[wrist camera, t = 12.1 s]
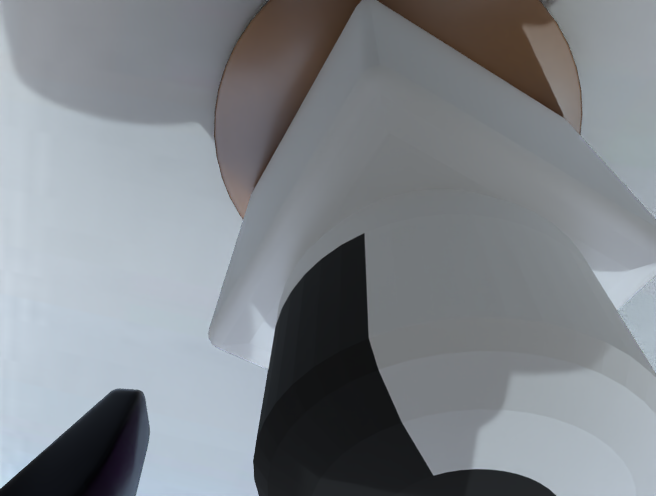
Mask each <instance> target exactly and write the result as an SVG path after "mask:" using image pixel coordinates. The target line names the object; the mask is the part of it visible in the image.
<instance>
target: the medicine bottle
mask: <svg viewBox="0 0 656 496" xmlns="http://www.w3.org/2000/svg"><path fill="white" fill-rule="evenodd" d="M655 276H656V219H655V218H654V217H653V216H652V215H651V214H650V213H649V212H648V210H647V209H646V208H645V207H644V206H643V205H642V204H641V203H640V201H639V200H638V199H637V198H636V197H635V196H634V195H633V194H632V193H631V191H630V190H629V189H628V188H627V187H626V186H625V185H624V184H623V182H622V181H621V180H620V179H619V178H618V177H617V176H616V175H615V174H614V172H613V171H612V170H611V169H610V168H609V167H608V166H607V165H606V163H605V162H604V161H603V160H602V159H601V158H600V157H599V156H598V155H597V153H596V152H595V151H594V150H593V149H592V148H591V147H590V146H589V144H588V143H587V142H586V141H585V140H584V139H583V138H582V137H581V136H580V134H579V133H578V132H577V131H576V130H575V129H574V128H573V127H572V125H571V124H570V123H569V122H568V121H567V120H566V119H565V118H563V117H561V116H560V115H558V114H557V113H555V112H553V111H552V110H550V109H549V108H547V107H545V106H544V105H542V104H541V103H539V102H538V101H536V100H534V99H533V98H531V97H530V96H528V95H526V94H525V93H523V92H522V91H520V90H518V89H517V88H515V87H514V86H512V85H510V84H509V83H507V82H506V81H504V80H503V79H501V78H499V77H498V76H496V75H495V74H493V73H491V72H490V71H488V70H487V69H485V68H483V67H482V66H480V65H479V64H477V63H476V62H474V61H472V60H471V59H469V58H468V57H466V56H464V55H463V54H461V53H460V52H458V51H456V50H455V49H453V48H452V47H450V46H449V45H447V44H445V43H444V42H442V41H441V40H439V39H437V38H436V37H434V36H433V35H431V34H429V33H428V32H426V31H425V30H423V29H421V28H420V27H418V26H417V25H415V24H414V23H412V22H410V21H409V20H407V19H406V18H404V17H402V16H401V15H399V14H398V13H396V12H394V11H393V10H391V9H390V8H388V7H387V6H385V5H383V4H382V3H380V2H379V1H377V0H362V1H361V2H360V3H359V4H358V5H357V6H356V8H355V10H354V11H353V13H352V15H351V17H350V19H349V20H348V22H347V24H346V26H345V27H344V29H343V31H342V33H341V35H340V36H339V38H338V40H337V42H336V44H335V45H334V47H333V49H332V51H331V53H330V54H329V56H328V58H327V60H326V61H325V63H324V65H323V67H322V69H321V70H320V72H319V74H318V76H317V78H316V79H315V81H314V83H313V85H312V86H311V88H310V90H309V92H308V94H307V95H306V97H305V99H304V101H303V103H302V104H301V106H300V108H299V110H298V112H297V113H296V115H295V117H294V119H293V120H292V122H291V124H290V126H289V128H288V129H287V131H286V133H285V135H284V137H283V138H282V140H281V142H280V144H279V145H278V147H277V149H276V151H275V153H274V154H273V156H272V158H271V160H270V162H269V163H268V165H267V167H266V169H265V171H264V172H263V174H262V176H261V178H260V179H259V181H258V183H257V185H256V187H255V188H254V190H253V192H252V194H251V197H250V200H249V203H248V206H247V209H246V213H245V216H244V219H243V222H242V225H241V229H240V232H239V235H238V238H237V241H236V245H235V248H234V251H233V254H232V257H231V260H230V264H229V267H228V270H227V273H226V276H225V280H224V283H223V286H222V289H221V292H220V296H219V299H218V302H217V305H216V308H215V312H214V315H213V318H212V321H211V324H210V328H209V339H210V341H211V343H212V345H214V346H215V347H217V348H218V349H221V350H223V351H225V352H228V353H230V354H232V355H235V356H237V357H239V358H242V359H244V360H246V361H249V362H251V363H253V364H256V365H258V366H260V367H263V368H265V369H267V370H268V374H267V380H266V386H265V392H264V398H263V404H262V410H261V416H260V422H259V428H258V434H257V440H256V447H255V453H254V460H253V464H254V480H255V483H256V487H257V490H258V494H259V496H656V373H655V371H654V370H653V368H652V366H651V365H650V363H649V362H648V360H647V358H646V357H645V355H644V354H643V352H642V350H641V349H640V347H639V345H638V344H637V342H636V341H635V339H634V337H633V336H632V334H631V332H630V331H629V329H628V328H627V326H626V324H625V323H624V321H623V319H622V318H621V316H620V315H619V313H618V310H619V309H620V308H621V307H622V306H623V305H624V304H625V303H626V302H628V301H629V300H630V299H631V298H632V297H633V296H634V295H635V294H636V293H637V292H638V291H639V290H641V289H642V288H643V287H644V286H645V285H646V284H647V283H648V282H649V281H650V280H651V279H652V278H654V277H655Z"/></svg>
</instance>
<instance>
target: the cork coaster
mask: <svg viewBox="0 0 656 496" xmlns="http://www.w3.org/2000/svg"><path fill="white" fill-rule="evenodd" d="M361 1H362V0H269V1H268V2H267V3H266V4H265V5H264V6H263V7H262V9H261V10H260V11H259V12H258V13H257V14H256V15H255V17H254V18H253V19H252V20H251V22H250V23H249V25H248V26H247V28H246V29H245V31H244V32H243V34H242V35H241V37H240V38H239V40H238V41H237V43H236V45H235V47H234V49H233V51H232V53H231V56H230V58H229V60H228V62H227V64H226V66H225V70H224V73H223V76H222V79H221V82H220V86H219V89H218V95H217V101H216V107H215V122H214V137H215V146H216V155H217V160H218V164H219V168H220V172H221V175H222V179H223V181H224V184H225V186H226V189H227V191H228V194H229V196H230V198H231V200H232V202H233V204H234V205H235V207H236V209H237V211H238V212H239V214H240V216H241V217H242V219H244V216H245V213H246V209H247V206H248V203H249V200H250V197H251V194H252V192H253V190H254V188H255V187H256V185H257V183H258V181H259V179H260V178H261V176H262V174H263V172H264V171H265V169H266V167H267V165H268V163H269V162H270V160H271V158H272V156H273V154H274V153H275V151H276V149H277V147H278V145H279V144H280V142H281V140H282V138H283V137H284V135H285V133H286V131H287V129H288V128H289V126H290V124H291V122H292V120H293V119H294V117H295V115H296V113H297V112H298V110H299V108H300V106H301V104H302V103H303V101H304V99H305V97H306V95H307V94H308V92H309V90H310V88H311V86H312V85H313V83H314V81H315V79H316V78H317V76H318V74H319V72H320V70H321V69H322V67H323V65H324V63H325V61H326V60H327V58H328V56H329V54H330V53H331V51H332V49H333V47H334V45H335V44H336V42H337V40H338V38H339V36H340V35H341V33H342V31H343V29H344V27H345V26H346V24H347V22H348V20H349V19H350V17H351V15H352V13H353V11H354V10H355V8H356V6H357V5H358V4H359V3H360V2H361ZM377 1H379V2H380V3H382V4H383V5H385V6H387V7H388V8H390V9H391V10H393V11H394V12H396V13H398V14H399V15H401V16H402V17H404V18H406V19H407V20H409V21H410V22H412V23H414V24H415V25H417V26H418V27H420V28H421V29H423V30H425V31H426V32H428V33H429V34H431V35H433V36H434V37H436V38H437V39H439V40H441V41H442V42H444V43H445V44H447V45H449V46H450V47H452V48H453V49H455V50H456V51H458V52H460V53H461V54H463V55H464V56H466V57H468V58H469V59H471V60H472V61H474V62H476V63H477V64H479V65H480V66H482V67H483V68H485V69H487V70H488V71H490V72H491V73H493V74H495V75H496V76H498V77H499V78H501V79H503V80H504V81H506V82H507V83H509V84H510V85H512V86H514V87H515V88H517V89H518V90H520V91H522V92H523V93H525V94H526V95H528V96H530V97H531V98H533V99H534V100H536V101H538V102H539V103H541V104H542V105H544V106H545V107H547V108H549V109H550V110H552V111H553V112H555V113H557V114H558V115H560V116H561V117H563V118H565V119H566V120H567V121H568V122H569V123H570V124H571V125H572V127H573V128H574V129H575V130H576V131H577V132H578V133H579V134H580V132H581V122H582V98H581V87H580V82H579V77H578V72H577V67H576V64H575V61H574V58H573V56H572V53H571V50H570V47H569V45H568V43H567V41H566V39H565V37H564V35H563V33H562V31H561V30H560V28H559V26H558V24H557V22H556V21H555V20H554V18H553V17H552V16H551V14H550V13H549V12H548V11H547V9H546V8H545V7H544V5H543V4H542V3H541V2H540V1H539V0H377Z"/></svg>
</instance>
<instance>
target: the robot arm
mask: <svg viewBox="0 0 656 496" xmlns="http://www.w3.org/2000/svg"><path fill="white" fill-rule="evenodd" d="M149 435H150V427H149V420H148V414H147V407H146V401H145V396H144V394H143V392H142V391H140V390H133V389H115V390H113V391H111V392H110V393H109V394H108V395H106V396H105V397H104V398H103V399H102V400H101V401H100V402H98V403H97V404H96V405H95V406H94V407H93V408H92V409H91V410H89V411H88V412H87V413H86V414H85V415H84V416H83V417H81V418H80V419H79V420H78V421H77V422H76V423H75V424H73V425H72V426H71V427H70V428H69V429H68V430H67V431H66V432H64V433H63V434H62V435H61V436H60V437H59V438H58V439H56V440H55V441H54V442H53V443H52V444H51V445H50V446H49V447H47V448H46V449H45V450H44V451H43V452H42V453H41V454H39V455H38V456H37V457H36V458H35V459H34V460H33V461H31V462H30V463H29V464H28V465H27V466H26V467H25V468H24V469H22V470H21V471H20V472H19V473H18V474H17V475H16V476H14V477H13V478H12V479H11V480H10V481H9V482H8V483H7V484H5V485H4V486H3V487H2V488H1V489H0V496H136V492H137V488H138V484H139V480H140V476H141V472H142V467H143V463H144V459H145V455H146V451H147V447H148V442H149Z"/></svg>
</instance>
